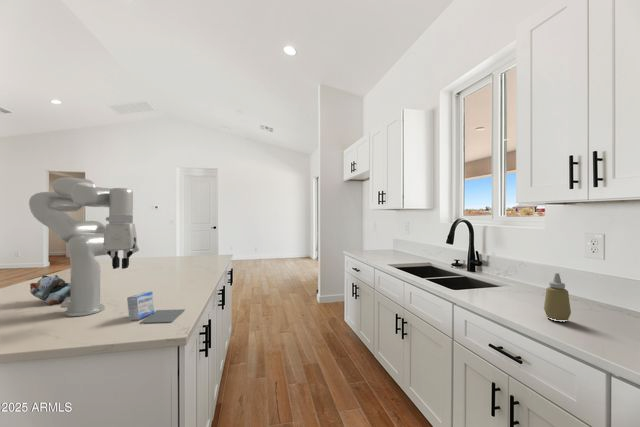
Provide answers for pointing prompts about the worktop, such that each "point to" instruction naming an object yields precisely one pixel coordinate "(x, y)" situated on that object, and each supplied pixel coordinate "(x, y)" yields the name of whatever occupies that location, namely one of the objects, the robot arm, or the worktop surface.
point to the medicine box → (140, 305)
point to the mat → (163, 316)
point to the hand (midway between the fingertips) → (120, 267)
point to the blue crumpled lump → (51, 290)
